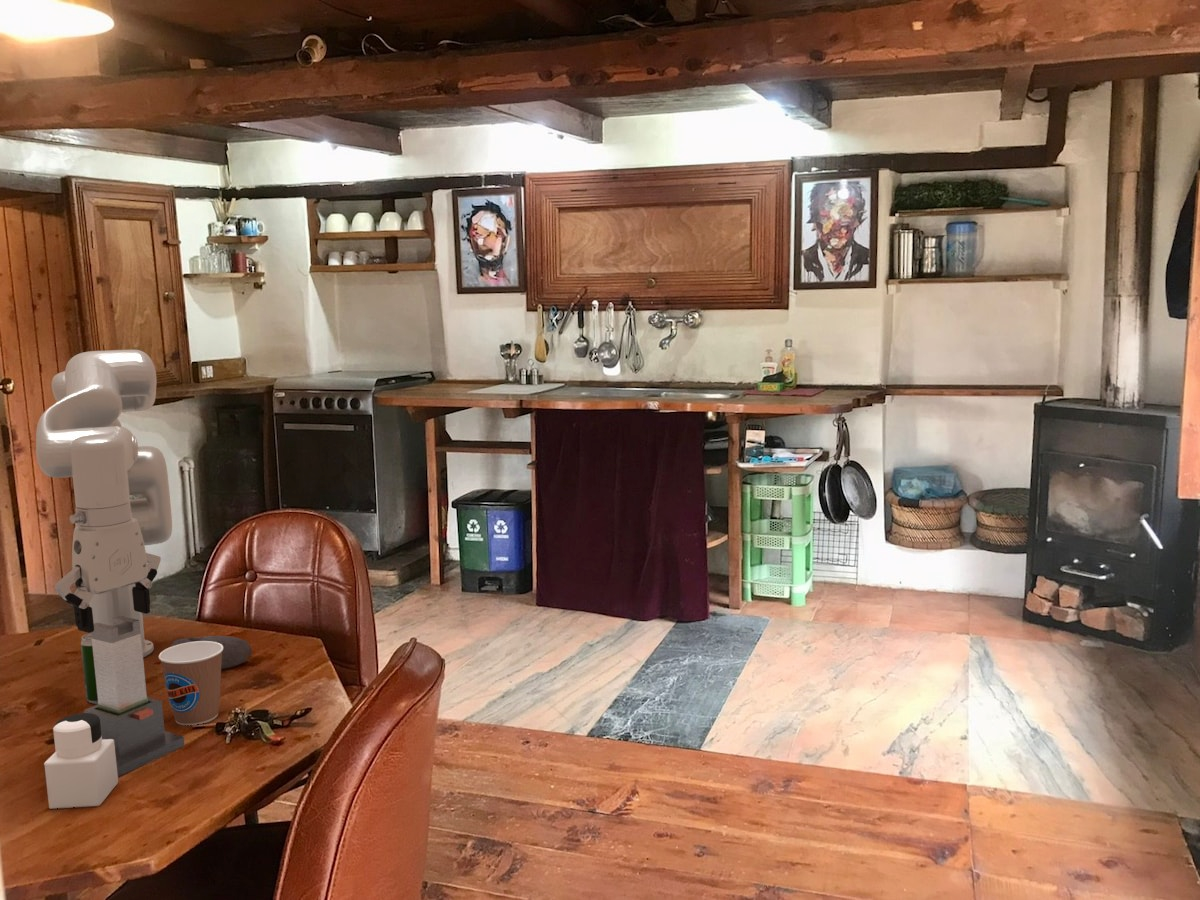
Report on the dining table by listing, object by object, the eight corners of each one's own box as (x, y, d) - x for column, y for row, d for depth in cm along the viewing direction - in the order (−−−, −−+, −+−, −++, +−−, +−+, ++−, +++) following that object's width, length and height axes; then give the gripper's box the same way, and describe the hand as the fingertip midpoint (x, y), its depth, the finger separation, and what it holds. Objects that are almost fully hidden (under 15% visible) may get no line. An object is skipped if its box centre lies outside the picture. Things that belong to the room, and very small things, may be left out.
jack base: (69, 760, 159) (64, 712, 158) (137, 731, 169) (132, 685, 168) (117, 777, 153) (112, 727, 152) (184, 745, 163) (180, 698, 162)
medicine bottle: (69, 785, 150) (61, 709, 149) (119, 782, 151) (111, 706, 149) (48, 810, 143) (38, 730, 142) (100, 806, 144) (91, 727, 142)
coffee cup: (151, 725, 171) (144, 658, 169) (194, 702, 181) (188, 638, 179) (199, 733, 168) (193, 664, 166) (241, 709, 177) (236, 644, 175)
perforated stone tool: (252, 659, 202) (249, 626, 200) (253, 668, 197) (251, 634, 196) (170, 671, 196) (167, 637, 195) (170, 681, 191) (167, 646, 190)
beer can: (88, 707, 179) (81, 642, 178) (84, 697, 184) (78, 634, 182) (121, 700, 182) (115, 636, 180) (117, 690, 187) (110, 628, 185)
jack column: (98, 717, 159) (89, 624, 157) (128, 705, 163) (119, 615, 161) (119, 723, 156) (110, 629, 154) (149, 711, 161) (140, 620, 159)
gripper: (65, 531, 146) (77, 643, 149) (168, 506, 161) (177, 608, 164) (34, 524, 149) (47, 634, 153) (138, 501, 164) (147, 601, 167)
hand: (114, 621), depth 158 cm, fingers open, 9 cm apart
